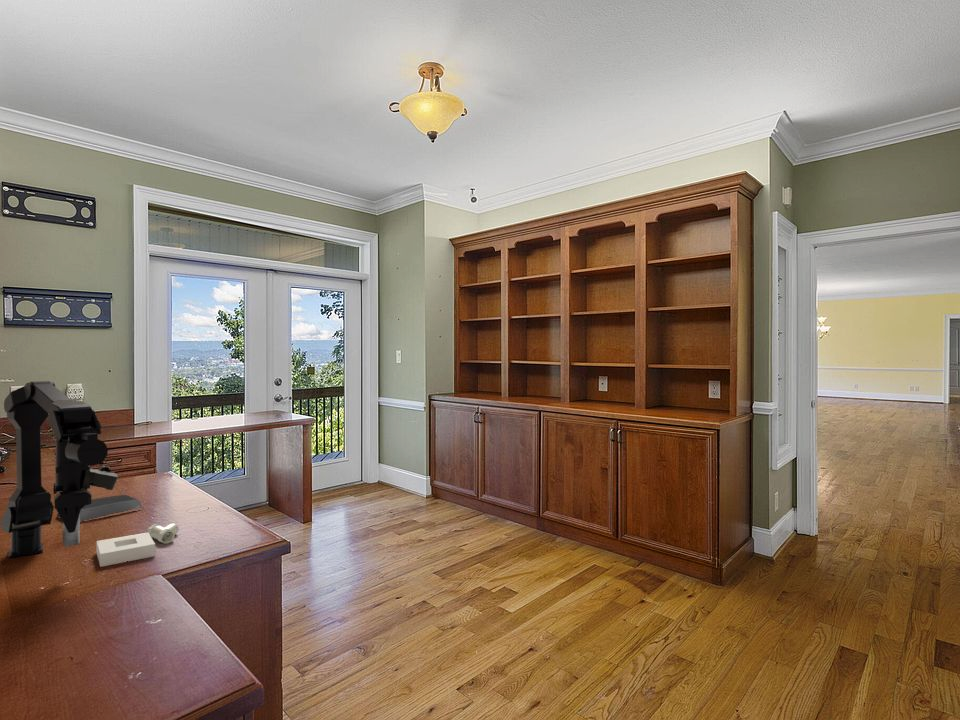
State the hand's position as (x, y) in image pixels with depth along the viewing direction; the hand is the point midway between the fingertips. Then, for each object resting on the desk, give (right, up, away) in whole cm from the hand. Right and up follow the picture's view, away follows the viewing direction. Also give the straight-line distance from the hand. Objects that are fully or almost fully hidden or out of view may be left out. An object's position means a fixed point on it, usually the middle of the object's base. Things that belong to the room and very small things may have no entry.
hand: (71, 530), depth 119 cm
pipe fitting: (+7, -11, +24) cm, 28 cm away
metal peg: (0, -3, 0) cm, 3 cm away
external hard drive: (-27, -10, +46) cm, 55 cm away
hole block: (+4, -10, +12) cm, 16 cm away
